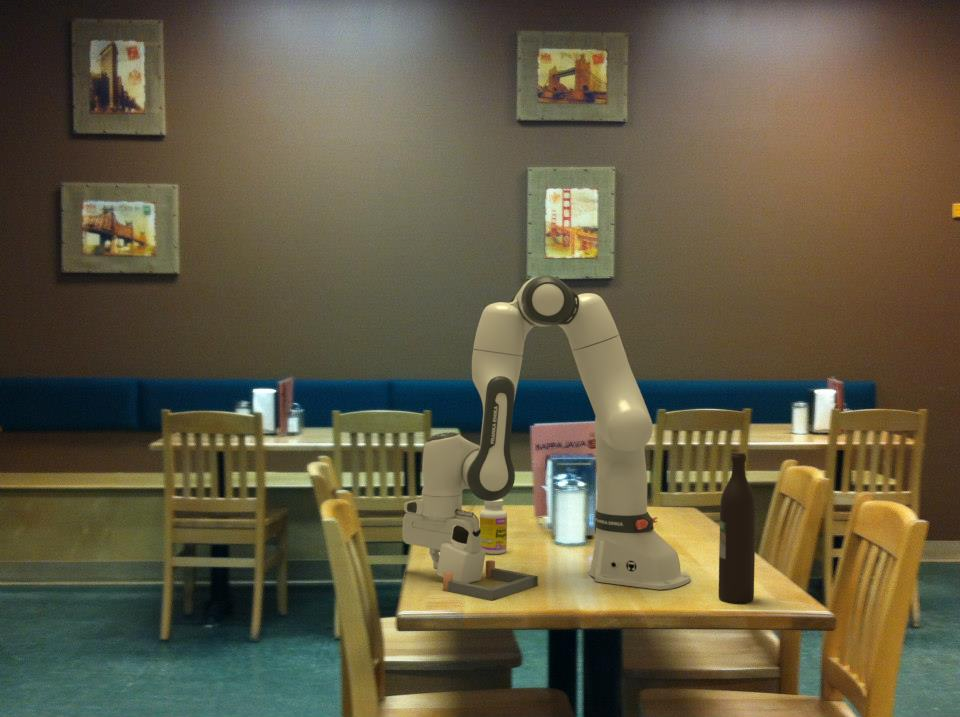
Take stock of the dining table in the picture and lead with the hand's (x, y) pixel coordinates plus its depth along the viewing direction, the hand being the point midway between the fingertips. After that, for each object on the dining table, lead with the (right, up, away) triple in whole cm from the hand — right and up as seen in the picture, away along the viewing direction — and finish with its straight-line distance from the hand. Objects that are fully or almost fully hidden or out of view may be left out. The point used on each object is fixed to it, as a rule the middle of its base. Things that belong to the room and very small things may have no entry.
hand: (440, 569), depth 237 cm
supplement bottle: (+12, -1, +26) cm, 29 cm away
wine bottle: (+61, -3, -16) cm, 63 cm away
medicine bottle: (+4, -1, -3) cm, 5 cm away
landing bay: (+12, -2, -9) cm, 15 cm away
